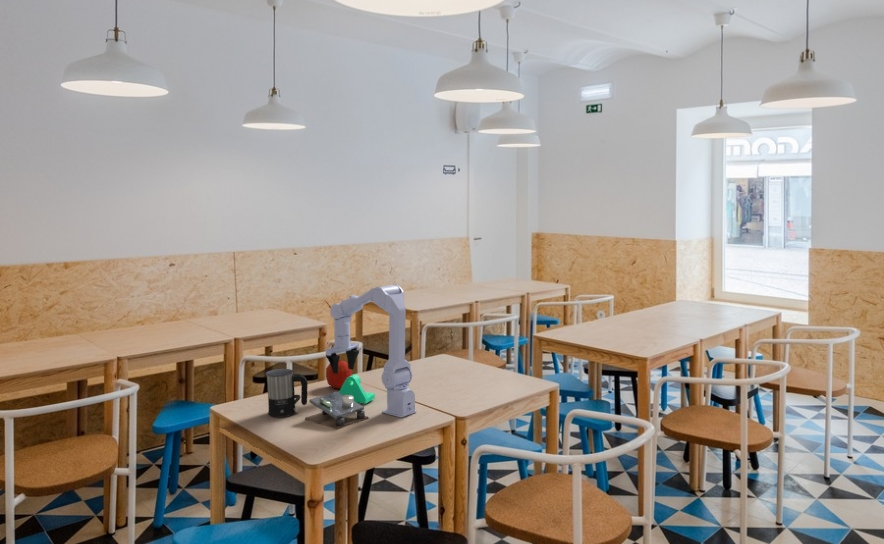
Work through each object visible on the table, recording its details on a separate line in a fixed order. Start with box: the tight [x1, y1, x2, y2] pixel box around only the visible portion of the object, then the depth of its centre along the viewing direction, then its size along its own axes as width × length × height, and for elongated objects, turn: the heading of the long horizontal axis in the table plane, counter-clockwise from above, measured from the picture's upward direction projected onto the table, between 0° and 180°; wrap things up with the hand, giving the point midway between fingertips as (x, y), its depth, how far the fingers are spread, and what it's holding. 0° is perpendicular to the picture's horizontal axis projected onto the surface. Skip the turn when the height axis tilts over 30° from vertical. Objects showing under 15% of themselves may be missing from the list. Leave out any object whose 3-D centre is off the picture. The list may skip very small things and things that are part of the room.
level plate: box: [308, 391, 365, 419], centre depth 222 cm, size 14×12×4 cm
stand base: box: [304, 410, 369, 430], centre depth 223 cm, size 16×14×3 cm
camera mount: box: [338, 374, 376, 404], centre depth 243 cm, size 12×8×10 cm, turn 68°
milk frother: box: [265, 368, 309, 418], centre depth 233 cm, size 14×16×15 cm
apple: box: [325, 359, 353, 390], centre depth 261 cm, size 10×10×12 cm
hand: (343, 371), depth 247 cm, fingers open, 7 cm apart
